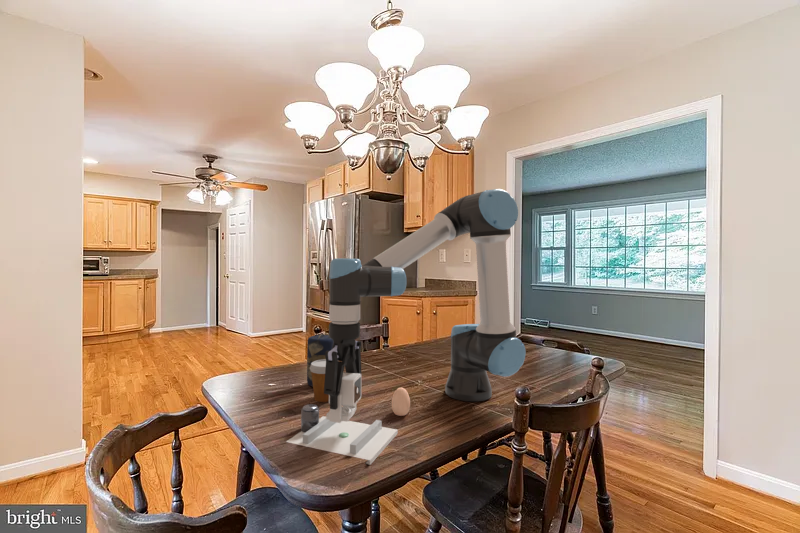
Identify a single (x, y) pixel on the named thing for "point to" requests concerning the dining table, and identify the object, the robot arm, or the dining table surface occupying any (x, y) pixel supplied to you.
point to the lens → (309, 417)
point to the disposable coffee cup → (319, 380)
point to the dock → (347, 438)
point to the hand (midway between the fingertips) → (343, 415)
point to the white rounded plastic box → (349, 394)
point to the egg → (400, 402)
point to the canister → (317, 351)
